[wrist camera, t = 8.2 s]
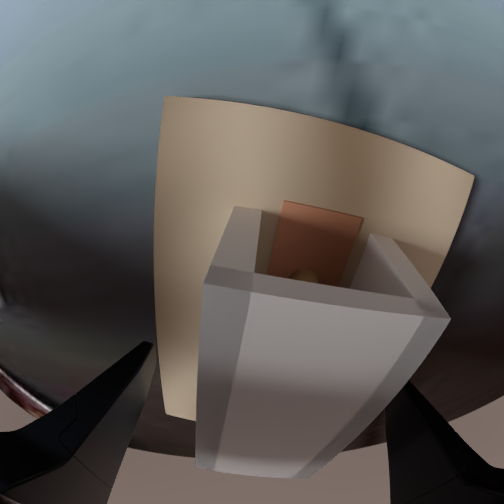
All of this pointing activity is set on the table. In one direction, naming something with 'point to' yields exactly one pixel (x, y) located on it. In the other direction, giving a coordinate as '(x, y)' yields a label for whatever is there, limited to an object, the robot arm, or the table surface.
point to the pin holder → (282, 210)
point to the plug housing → (302, 355)
